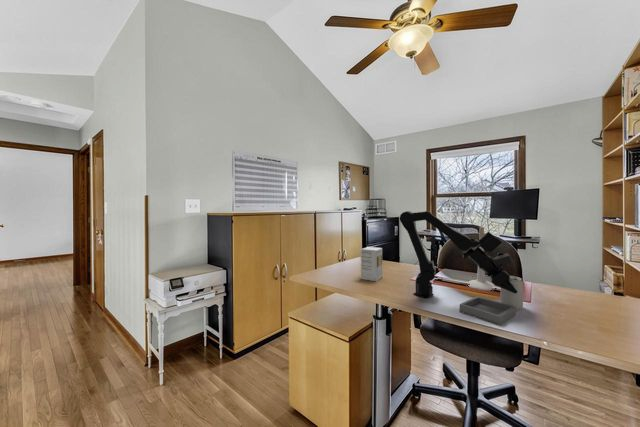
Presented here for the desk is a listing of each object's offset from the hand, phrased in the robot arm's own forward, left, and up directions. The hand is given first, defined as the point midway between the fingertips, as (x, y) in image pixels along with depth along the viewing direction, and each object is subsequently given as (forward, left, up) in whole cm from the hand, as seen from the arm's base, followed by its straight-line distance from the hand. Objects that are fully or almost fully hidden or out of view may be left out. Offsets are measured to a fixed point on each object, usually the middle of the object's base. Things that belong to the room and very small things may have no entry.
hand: (513, 289), depth 108 cm
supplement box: (-63, -15, -7) cm, 65 cm away
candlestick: (-20, +17, -8) cm, 27 cm away
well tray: (-4, -14, -7) cm, 17 cm away
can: (-1, 0, -7) cm, 8 cm away
